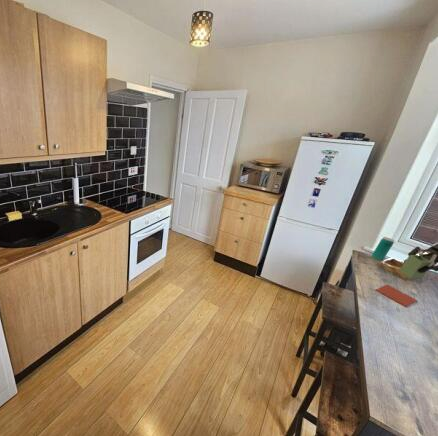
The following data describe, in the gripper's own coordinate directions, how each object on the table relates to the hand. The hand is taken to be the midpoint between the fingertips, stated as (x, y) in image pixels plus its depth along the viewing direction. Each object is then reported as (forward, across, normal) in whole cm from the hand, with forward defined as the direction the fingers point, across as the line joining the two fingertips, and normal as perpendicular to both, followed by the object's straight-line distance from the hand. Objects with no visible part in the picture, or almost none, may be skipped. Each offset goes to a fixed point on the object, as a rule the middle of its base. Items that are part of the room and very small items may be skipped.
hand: (411, 267), depth 111 cm
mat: (+12, +1, +12) cm, 17 cm away
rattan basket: (-6, -20, +30) cm, 37 cm away
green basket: (+2, 0, +5) cm, 5 cm away
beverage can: (-5, -32, +30) cm, 44 cm away
